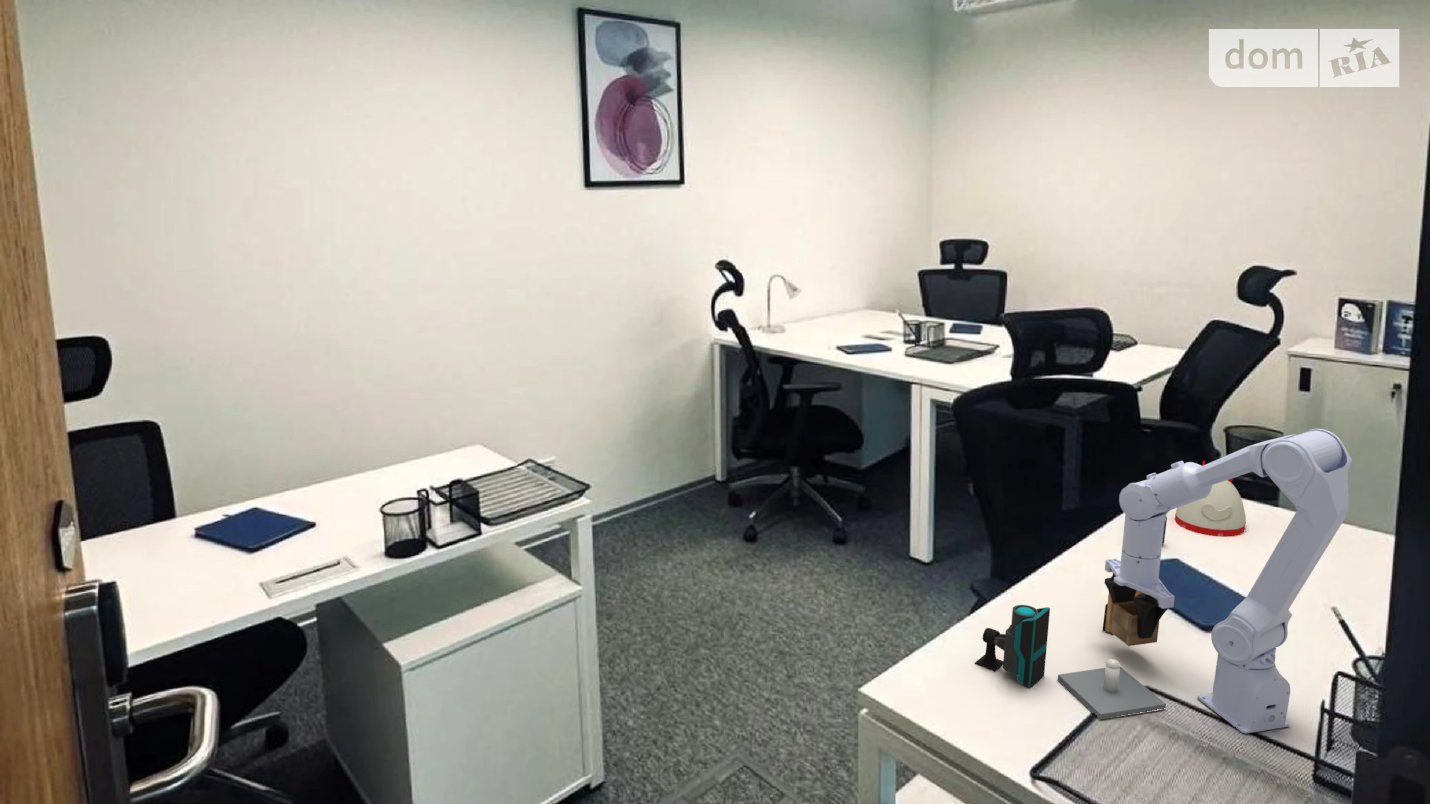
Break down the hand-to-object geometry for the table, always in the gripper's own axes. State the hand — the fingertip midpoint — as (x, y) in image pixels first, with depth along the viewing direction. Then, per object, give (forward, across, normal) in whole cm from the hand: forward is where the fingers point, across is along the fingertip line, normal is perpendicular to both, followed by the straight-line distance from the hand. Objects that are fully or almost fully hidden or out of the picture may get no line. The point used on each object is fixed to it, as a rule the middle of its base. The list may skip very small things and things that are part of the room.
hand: (1133, 628), depth 149 cm
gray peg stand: (+5, +9, -10) cm, 14 cm away
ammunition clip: (+5, -10, +6) cm, 13 cm away
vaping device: (+5, -38, +33) cm, 51 cm away
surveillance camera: (+5, -1, -22) cm, 22 cm away
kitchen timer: (+5, -45, +53) cm, 70 cm away
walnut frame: (+1, 0, 0) cm, 1 cm away
